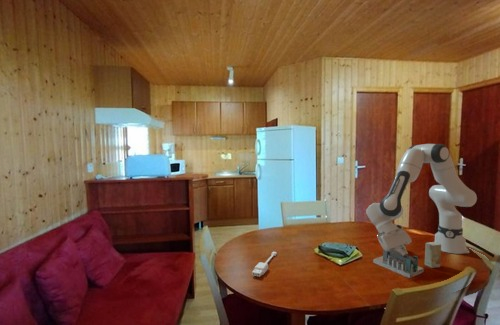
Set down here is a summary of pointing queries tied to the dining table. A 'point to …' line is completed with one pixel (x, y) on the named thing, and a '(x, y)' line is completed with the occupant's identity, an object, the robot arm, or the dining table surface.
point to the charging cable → (262, 266)
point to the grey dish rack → (399, 265)
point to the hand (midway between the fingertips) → (405, 254)
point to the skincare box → (432, 254)
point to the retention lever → (400, 257)
